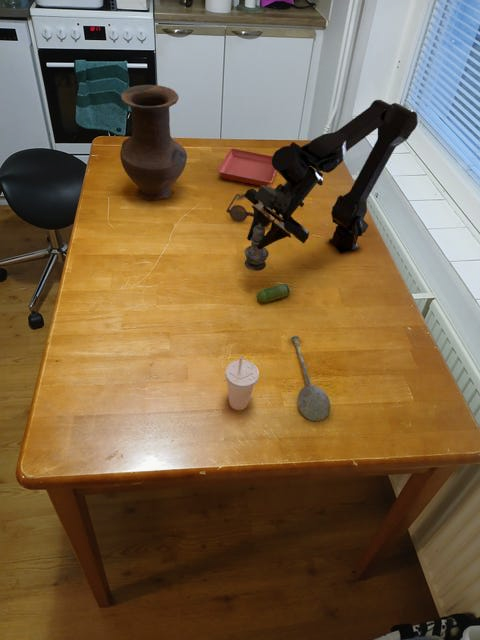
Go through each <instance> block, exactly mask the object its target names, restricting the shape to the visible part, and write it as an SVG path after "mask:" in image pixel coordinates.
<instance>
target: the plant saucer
mask: <svg viewBox="0 0 480 640" xmlns="http://www.w3.org/2000/svg"><path fill="white" fill-rule="evenodd" d="M272 157H273V155H268V154H263V153H259V152H253V151H249V150H243V149H238V148H230V149H229V150H228V152H227V153H226V155H225V157H224V159H223V161H222V162H221V164H220V166H219V168H218V170H217V173H219V175H220V176H221V177H222V178H223V179H224V180H231V181H235V182H239V183H246V184H251V185H254V186H255V185H256V186H258V187H260V185H263V186H269V185H270V184H272V182H273V180H274V177H275V175H276V172H277V171H276V170H275V169H274V167H273V166H272Z"/></svg>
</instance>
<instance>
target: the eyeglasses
mask: <svg viewBox="0 0 480 640" xmlns="http://www.w3.org/2000/svg"><path fill="white" fill-rule="evenodd" d="M244 194H245V193H244ZM244 194H243V193H242V194H240V193H237V194H235V196H234V197H233V199H232V201H231V202H230V204H229V205H228V207H227V208H226V213H228V214H229V216H230V218H231V220H233V221H235V222H237V223H240V222H244V221H245V220H246V219H247V218H248V217H252V218H254V212H251V211H247V209H246V207H245V206H243V205H240V204H235V205H233V204H234V202H235V201H236V199H237V197H239V198H243V197H244ZM232 205H233V206H232ZM267 217H268V218H269V219H270V220H271V221H270V222H269V223H268V224H267V225H266V226H265V227H264V228H267V227H269V226H271V224H272V221H273V222H275V223H276V221H277V220H276V219H275V218H274V217H273V219H272V216H271V215H270V214H269V215H268V216H267Z"/></svg>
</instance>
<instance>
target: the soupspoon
mask: <svg viewBox="0 0 480 640" xmlns="http://www.w3.org/2000/svg"><path fill="white" fill-rule="evenodd" d="M290 339H291V341H292V342H293V343H294V345H295V348H296V351H297V355H298V359H299V362H300V365H301V369H302V371H303V375H304V380H305V384H306V385H305V386H303V387H302V388H301V389H300V391H299V393H298V395H297V402H298V403H297V404H298V409H299V411H300V413H301V415H303V416H304V417H305V418H306V419H307V420H309V421H311V422H315V423H316V422H322V421H324V420H326V419H327V418H328V417H329V415H330V412H331V401H330V398H329V396H328V395H327V393H326V392H325V391H324V390H323V389H322V388H320V387H319V386H316V385H313V384H312V382H311V378H310V375H309V372H308V369H307V366H306V363H305V360H304V357H303V354H302V351H301V348H300V347H301V346H300V342H299V340H300V336H299V335H292V336H291V338H290Z"/></svg>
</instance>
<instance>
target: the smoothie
mask: <svg viewBox="0 0 480 640" xmlns="http://www.w3.org/2000/svg"><path fill="white" fill-rule="evenodd" d="M243 358H244V357H243V356H239V359H238V360H237V359H236V360H234V361H232V362H230V363H229V364H228V365H227V367H226V368H225V373H224V377H225V380H226V383H227V392H228V401H229V406H230V407H231V408H232V409H233V410H236V411H242V410H244V409H246V408H247V406H248V404H249V402H250V398H251V396H252V393H253V390H254V388H255V386H256V384H257V383H258V381H259V378H260V377H259V376H260V372H259V369H258V366H256V365H255V364H254V363H253V362H251V361H249V360H245V359H243Z"/></svg>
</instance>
